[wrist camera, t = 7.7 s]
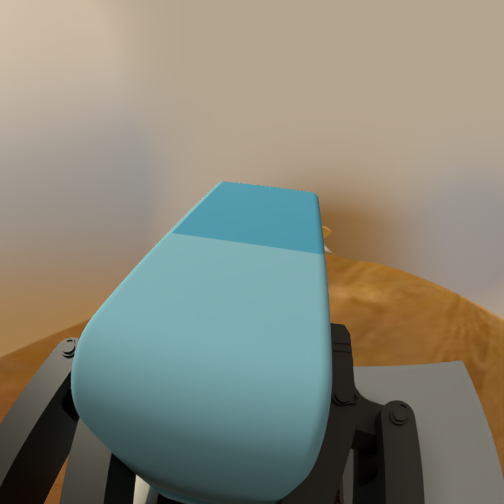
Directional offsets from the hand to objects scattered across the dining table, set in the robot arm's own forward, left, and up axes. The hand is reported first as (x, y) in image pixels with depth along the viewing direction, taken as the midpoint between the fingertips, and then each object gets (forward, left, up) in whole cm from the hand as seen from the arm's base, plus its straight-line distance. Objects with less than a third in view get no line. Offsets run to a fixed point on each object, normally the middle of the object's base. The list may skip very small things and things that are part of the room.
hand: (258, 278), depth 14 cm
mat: (-12, +8, -7) cm, 16 cm away
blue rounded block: (0, +4, -7) cm, 9 cm away
